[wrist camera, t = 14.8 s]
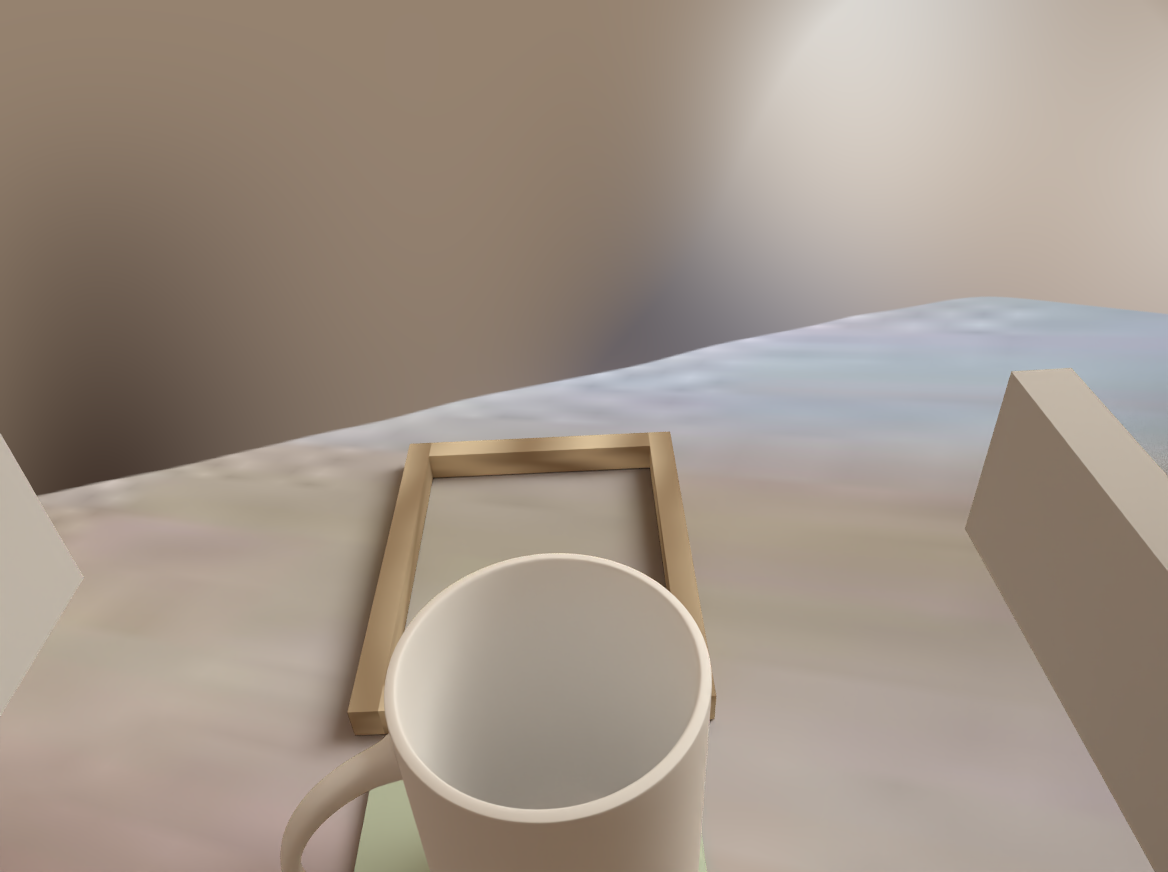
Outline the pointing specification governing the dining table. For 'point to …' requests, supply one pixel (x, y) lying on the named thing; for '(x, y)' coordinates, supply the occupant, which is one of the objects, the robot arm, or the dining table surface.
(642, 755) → the mug
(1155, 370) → the dining table surface
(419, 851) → the coaster
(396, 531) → the pocket frame
